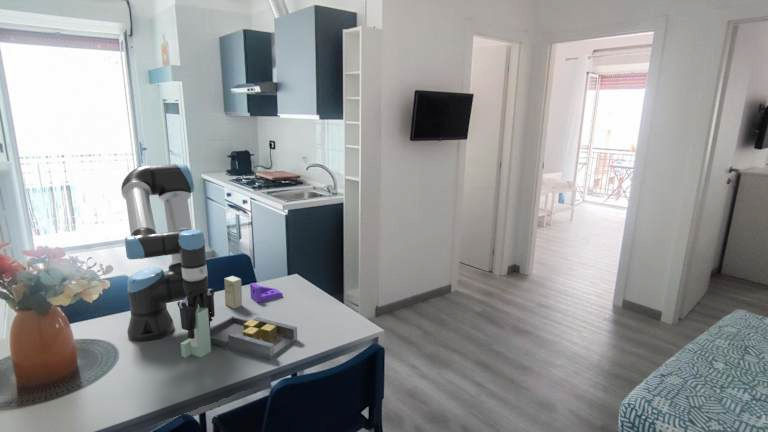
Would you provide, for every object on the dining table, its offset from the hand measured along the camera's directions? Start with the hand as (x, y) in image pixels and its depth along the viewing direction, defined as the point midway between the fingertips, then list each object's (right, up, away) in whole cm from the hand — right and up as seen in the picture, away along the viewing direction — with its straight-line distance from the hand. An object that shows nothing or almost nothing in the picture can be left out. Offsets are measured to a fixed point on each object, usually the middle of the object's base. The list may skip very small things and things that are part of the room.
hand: (200, 342), depth 146 cm
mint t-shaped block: (0, -4, +1) cm, 4 cm away
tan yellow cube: (+21, -1, +9) cm, 23 cm away
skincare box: (-2, +4, +38) cm, 38 cm away
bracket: (+10, +6, +47) cm, 49 cm away
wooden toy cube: (+15, -1, +7) cm, 17 cm away
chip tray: (+5, -1, +14) cm, 15 cm away
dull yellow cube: (+14, 0, +12) cm, 18 cm away
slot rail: (+19, -3, +8) cm, 21 cm away
